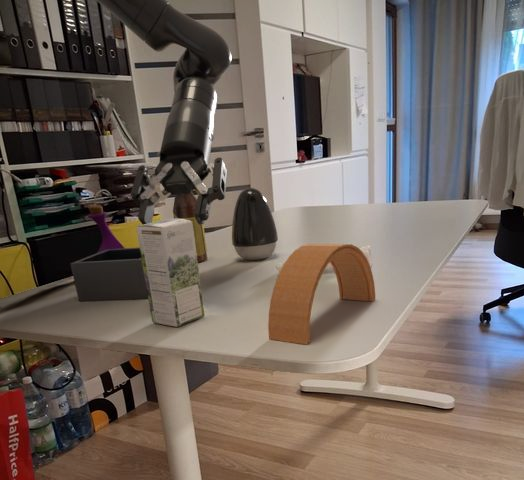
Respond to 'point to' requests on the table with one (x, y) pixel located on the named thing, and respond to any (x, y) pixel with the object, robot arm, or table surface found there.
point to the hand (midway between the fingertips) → (171, 223)
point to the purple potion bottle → (103, 226)
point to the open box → (110, 275)
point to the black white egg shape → (253, 226)
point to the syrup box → (171, 271)
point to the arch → (315, 286)
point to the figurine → (365, 250)
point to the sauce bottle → (186, 210)
